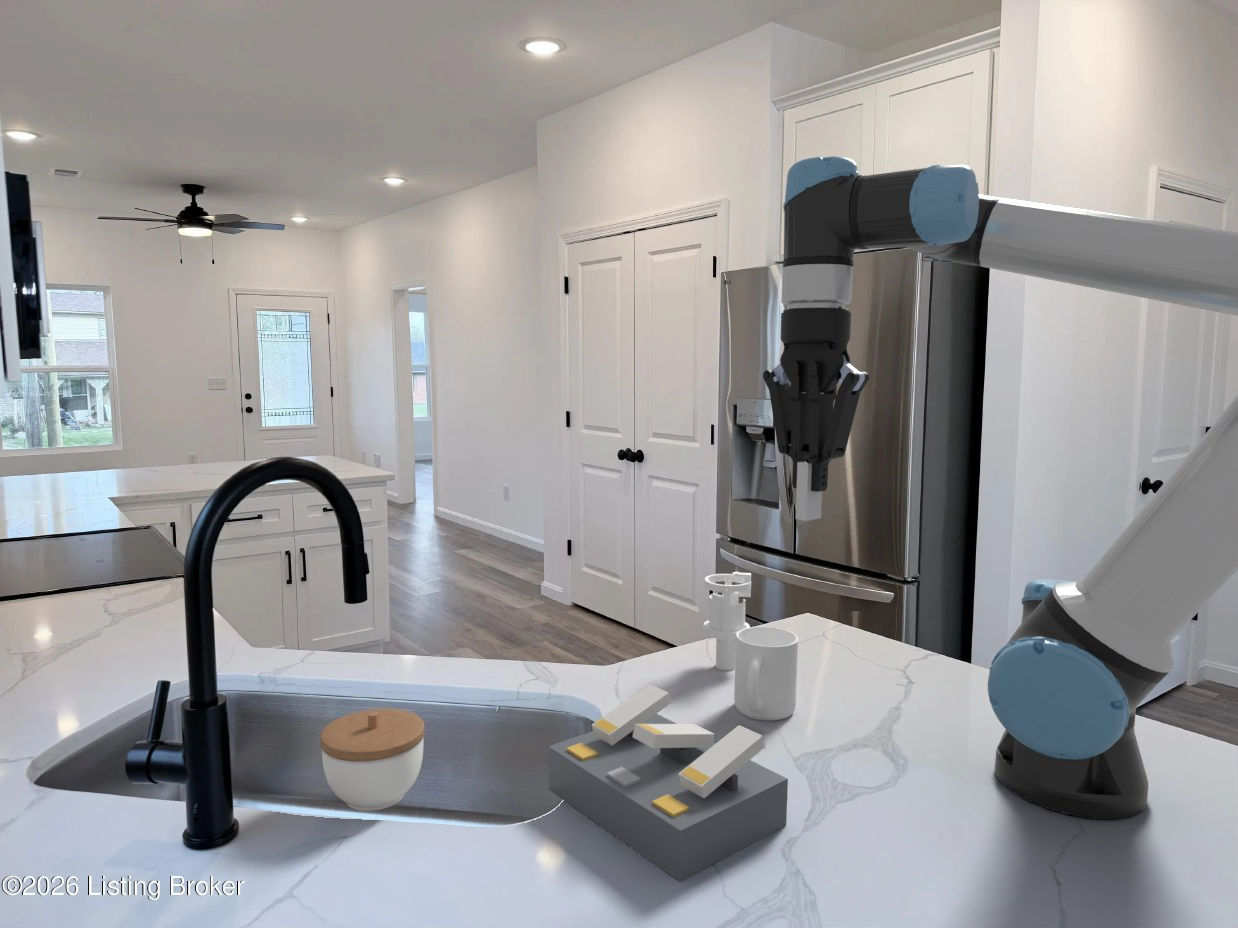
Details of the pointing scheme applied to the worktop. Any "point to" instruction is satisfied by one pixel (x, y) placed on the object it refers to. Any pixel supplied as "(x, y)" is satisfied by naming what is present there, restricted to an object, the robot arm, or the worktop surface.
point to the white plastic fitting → (726, 614)
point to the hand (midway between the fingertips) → (808, 518)
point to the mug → (765, 673)
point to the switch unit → (666, 800)
